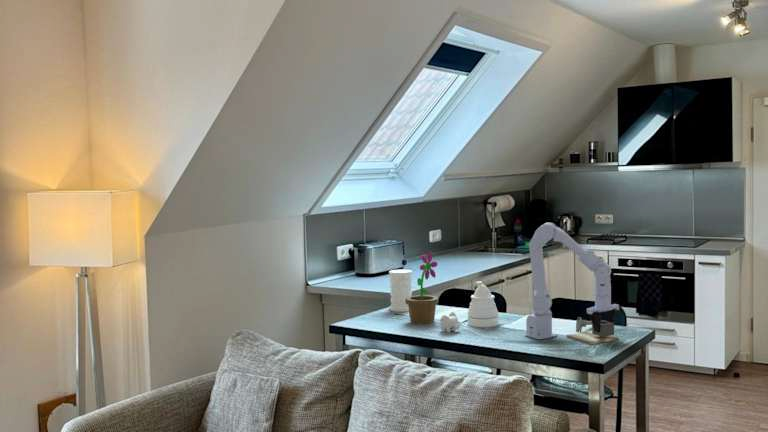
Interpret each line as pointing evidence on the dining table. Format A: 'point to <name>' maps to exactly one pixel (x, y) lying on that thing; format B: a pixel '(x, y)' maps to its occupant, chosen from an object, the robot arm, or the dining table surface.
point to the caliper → (581, 324)
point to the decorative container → (400, 289)
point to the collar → (604, 329)
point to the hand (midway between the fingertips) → (603, 330)
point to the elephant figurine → (449, 323)
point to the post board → (591, 337)
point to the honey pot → (482, 308)
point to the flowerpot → (423, 297)
